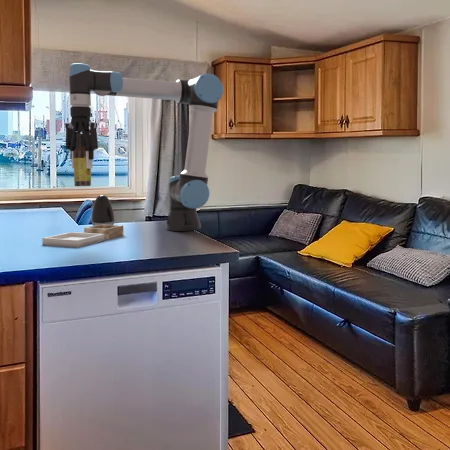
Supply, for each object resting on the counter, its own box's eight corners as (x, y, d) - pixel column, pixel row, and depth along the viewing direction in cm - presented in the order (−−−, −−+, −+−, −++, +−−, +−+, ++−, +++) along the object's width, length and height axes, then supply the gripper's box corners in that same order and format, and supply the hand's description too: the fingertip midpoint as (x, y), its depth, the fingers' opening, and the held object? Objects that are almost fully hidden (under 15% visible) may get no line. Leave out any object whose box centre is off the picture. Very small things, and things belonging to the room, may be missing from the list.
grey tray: (104, 240, 206) (104, 234, 206) (77, 247, 192) (76, 240, 192) (71, 238, 213) (71, 231, 213) (42, 244, 198) (42, 238, 198)
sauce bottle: (90, 186, 203) (89, 133, 200) (73, 186, 201) (72, 133, 199) (91, 185, 209) (90, 134, 206) (74, 185, 208) (73, 133, 205)
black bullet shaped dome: (118, 227, 241) (117, 193, 239) (111, 231, 231) (109, 195, 229) (96, 227, 242) (94, 194, 240) (88, 231, 232) (86, 196, 230)
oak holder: (123, 235, 219) (123, 225, 218) (107, 239, 209) (106, 229, 208) (101, 233, 223) (101, 224, 223) (84, 237, 213) (84, 227, 213)
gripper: (53, 106, 202) (55, 168, 205) (94, 104, 194) (96, 169, 197) (67, 108, 209) (69, 167, 212) (107, 106, 201) (108, 168, 204)
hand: (82, 168), depth 204 cm, fingers closed on sauce bottle, 6 cm apart
